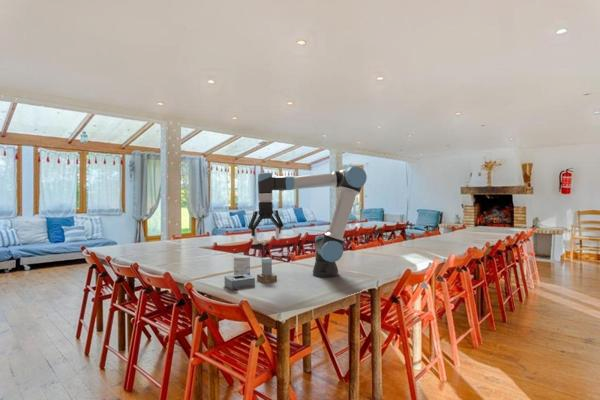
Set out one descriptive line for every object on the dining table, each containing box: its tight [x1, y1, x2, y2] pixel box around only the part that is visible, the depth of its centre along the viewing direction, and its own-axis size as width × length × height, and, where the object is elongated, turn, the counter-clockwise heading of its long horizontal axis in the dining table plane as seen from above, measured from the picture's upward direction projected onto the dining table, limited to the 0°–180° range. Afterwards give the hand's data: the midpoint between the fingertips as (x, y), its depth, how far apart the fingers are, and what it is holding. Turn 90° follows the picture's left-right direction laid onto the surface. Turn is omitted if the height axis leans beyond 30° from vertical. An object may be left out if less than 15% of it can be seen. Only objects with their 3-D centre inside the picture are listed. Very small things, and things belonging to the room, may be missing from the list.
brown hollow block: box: [256, 273, 278, 284], centre depth 188 cm, size 8×8×4 cm
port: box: [224, 274, 256, 292], centre depth 179 cm, size 12×12×5 cm
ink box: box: [233, 256, 251, 276], centre depth 201 cm, size 9×5×12 cm, turn 74°
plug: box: [261, 257, 273, 276], centre depth 188 cm, size 4×4×12 cm
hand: (266, 241), depth 186 cm, fingers open, 13 cm apart
